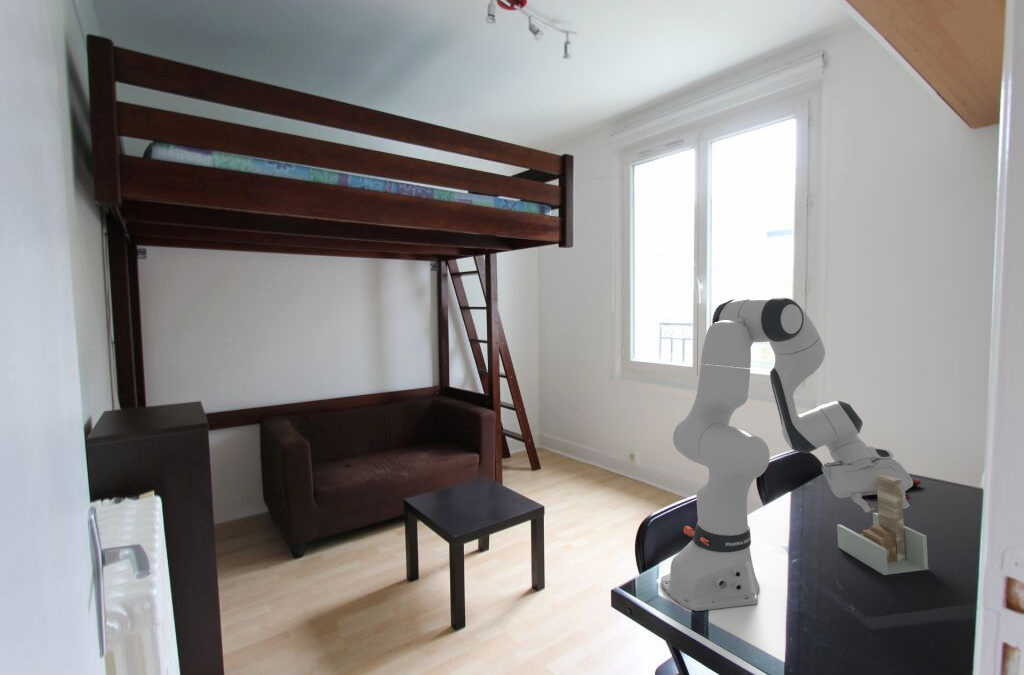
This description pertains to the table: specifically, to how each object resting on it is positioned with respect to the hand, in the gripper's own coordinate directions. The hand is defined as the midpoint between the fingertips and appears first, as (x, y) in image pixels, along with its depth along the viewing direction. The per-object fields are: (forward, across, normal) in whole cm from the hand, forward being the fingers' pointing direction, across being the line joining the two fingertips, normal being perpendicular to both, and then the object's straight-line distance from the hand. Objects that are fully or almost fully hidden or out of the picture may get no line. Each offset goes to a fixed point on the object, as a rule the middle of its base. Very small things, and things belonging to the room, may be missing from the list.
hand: (888, 509), depth 120 cm
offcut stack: (+9, -4, +8) cm, 12 cm away
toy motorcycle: (-18, +37, +38) cm, 56 cm away
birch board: (+9, 0, +8) cm, 12 cm away
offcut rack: (+10, -3, +9) cm, 13 cm away
